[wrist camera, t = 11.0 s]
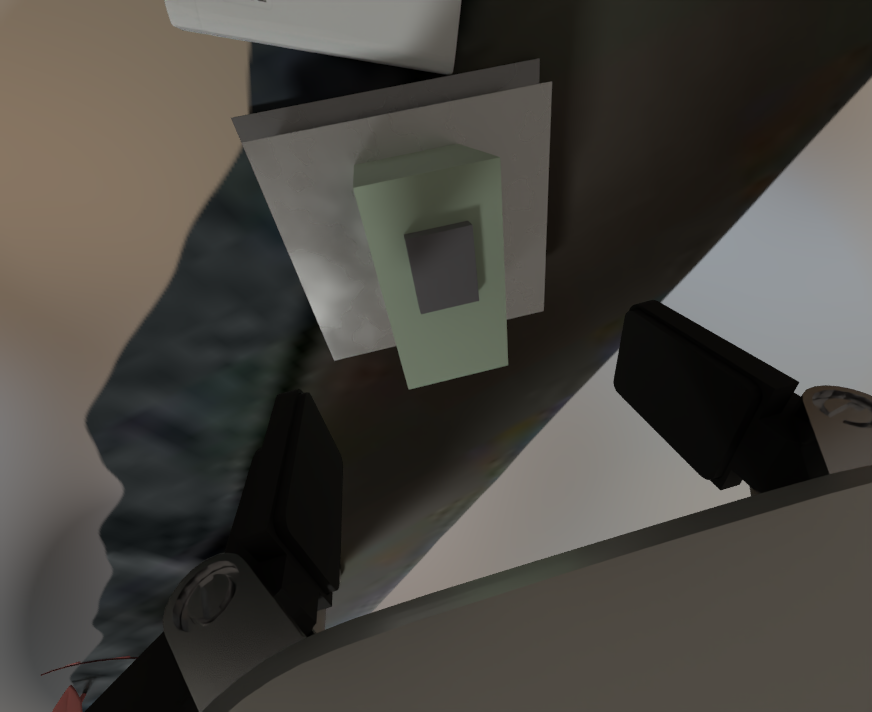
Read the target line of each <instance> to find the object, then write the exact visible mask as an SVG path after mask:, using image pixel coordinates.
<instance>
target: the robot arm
mask: <svg viewBox="0 0 872 712" xmlns="http://www.w3.org/2000/svg"><path fill="white" fill-rule="evenodd" d="M798 384H799V382H798V381H796V380H795V379H793V378H791V377H789V376H788V375H786V374H784V373H782V372H780V371H779V370H777V369H775V368H774V367H772V366H770V365H768V364H767V363H765V362H763V361H761V360H760V359H758V358H756V357H754V356H753V355H751V354H749V353H747V352H746V351H744V350H742V349H740V348H738V347H737V346H735V345H733V344H732V343H730V342H728V341H726V340H725V339H723V338H721V337H719V336H718V335H716V334H714V333H712V332H710V331H709V330H707V329H705V328H704V327H702V326H700V325H698V324H697V323H695V322H693V321H691V320H690V319H688V318H686V317H684V316H683V315H681V314H679V313H677V312H676V311H674V310H672V309H670V308H669V307H667V306H665V305H663V304H662V303H660V302H658V301H655V300H651V301H647V302H643V303H639V304H635V305H633V306H632V307H631V308H630V310H629V311H628V312H627V313H626V315H625V319H624V325H623V331H622V336H621V342H620V348H619V354H618V359H617V364H616V370H615V376H614V387H615V389H616V391H617V392H618V393H619V394H620V395H621V396H622V398H624V400H625V401H627V402H628V403H629V405H631V406H632V408H633V409H634V410H636V412H637V413H639V415H640V416H641V417H643V419H644V420H645V421H647V423H648V424H649V425H650V426H651V427H652V428H654V430H655V431H656V432H657V433H658V434H659V435H660V436H661V437H663V438H664V439H665V440H666V442H667V443H668V444H669V445H670V446H671V447H672V448H673V449H674V450H675V451H676V452H677V453H678V454H679V455H680V456H681V457H682V458H683V459H684V460H685V461H686V462H687V463H688V464H690V466H691V467H692V468H693V469H694V470H695V471H696V472H698V474H699V475H700V476H702V477H703V478H705V479H707V480H710V481H711V482H713V484H714V485H716V486H717V487H718V488H719V489H720V490H723V489H726V488H730V487H733V486H737V485H740V483H741V481H742V480H744V481H745V482H746V483H747V484H748V485H749V486H750V492H751V497H747V498H744V499H741V500H737V501H734V502H731V503H727V504H724V505H721V506H717V507H714V508H710V509H707V510H704V511H700V512H697V513H694V514H690V515H687V516H684V517H680V518H677V519H673V520H670V521H667V522H663V523H660V524H657V525H653V526H650V527H647V528H643V529H640V530H637V531H634V532H630V533H627V534H624V535H620V536H617V537H614V538H610V539H608V540H604V541H601V542H597V543H594V544H591V545H587V546H584V547H581V548H577V549H574V550H571V551H567V552H564V553H561V554H558V555H554V556H551V557H548V558H545V559H541V560H538V561H535V562H532V563H528V564H525V565H522V566H518V567H515V568H512V569H509V570H505V571H502V572H499V573H496V574H492V575H489V576H486V577H483V578H479V579H476V580H473V581H470V582H466V583H463V584H460V585H457V586H454V587H450V588H447V589H444V590H441V591H437V592H434V593H431V594H428V595H425V596H422V597H419V598H416V599H413V600H410V601H406V602H403V603H400V604H397V605H394V606H391V607H388V608H385V609H382V610H379V611H376V612H373V613H370V614H367V615H364V616H361V617H358V618H355V619H352V620H349V621H347V622H344V623H342V624H339V625H336V626H334V627H331V628H329V629H326V630H325V622H326V608H329V607H332V592H333V591H336V590H338V588H339V584H340V581H341V570H340V552H341V517H342V483H343V462H342V458H341V455H340V453H339V451H338V449H337V446H336V444H335V442H334V440H333V438H332V436H331V434H330V432H329V430H328V428H327V426H326V424H325V422H324V420H323V418H322V416H321V414H320V412H319V410H318V408H317V406H316V404H315V402H314V400H313V398H312V396H311V395H310V393H308V392H307V393H303V392H302V391H301V390H300V389H297V390H294V391H290V392H286V393H282V394H279V395H277V397H276V400H275V404H274V407H273V411H272V414H271V418H270V421H269V425H268V428H267V432H266V435H265V439H264V443H263V446H262V448H261V449H258V450H257V451H256V452H255V455H254V457H253V460H252V463H251V466H250V470H249V473H248V476H247V480H246V483H245V486H244V490H243V493H242V496H241V500H240V503H239V506H238V510H237V513H236V516H235V520H234V523H233V526H232V529H231V533H230V536H229V539H228V543H227V546H226V549H225V553H223V554H218V555H215V556H213V557H211V558H209V559H207V560H205V561H203V562H202V563H200V564H199V565H198V566H196V567H195V568H194V569H192V570H191V571H190V572H189V573H188V574H187V575H186V577H185V578H184V579H183V580H182V581H181V582H180V583H179V585H178V586H177V588H176V589H175V590H174V592H173V593H172V595H171V597H170V599H169V601H168V604H167V606H166V608H165V612H164V617H163V628H164V632H163V633H162V634H161V635H160V636H159V637H158V638H157V639H156V640H155V641H154V642H153V643H152V644H151V645H150V646H149V647H148V648H147V649H146V650H145V651H144V652H143V653H142V654H141V655H140V656H139V657H138V658H137V659H136V660H135V661H134V662H133V663H132V664H131V665H130V666H129V667H128V668H127V669H126V670H125V671H124V672H123V673H122V674H121V675H120V676H119V677H118V678H117V679H116V680H115V681H114V682H113V683H112V684H111V685H110V686H109V687H108V688H107V689H106V691H105V692H104V693H103V694H102V695H101V696H100V697H99V698H98V699H97V700H96V701H95V702H94V703H93V704H92V705H91V706H90V707H89V708H88V709H87V710H86V711H85V712H872V396H871V395H868V394H866V393H863V392H860V391H856V390H853V389H849V388H844V387H839V386H826V385H825V386H815V387H812V388H809V389H807V390H806V391H805V392H804V393H803V394H802V396H801V397H800V396H799V395H797V394H795V393H794V391H795V389H796V387H797V385H798Z"/></svg>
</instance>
